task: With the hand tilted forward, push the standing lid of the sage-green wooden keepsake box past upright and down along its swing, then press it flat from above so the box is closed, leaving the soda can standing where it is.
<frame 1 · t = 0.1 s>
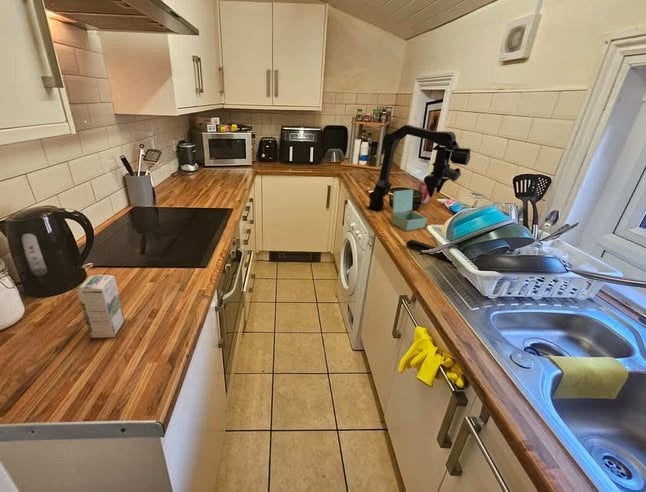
hand: (434, 194, 139), 15 cm above the table, tool pointing down, fingers open, 9 cm apart
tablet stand: (428, 253, 117), on the table
soda can: (422, 202, 174), on the table
syrup box: (109, 330, 76), on the table
keepsake box: (407, 225, 143), on the table
lid: (402, 201, 143), point 10 cm above the table, hinge at 100.0°
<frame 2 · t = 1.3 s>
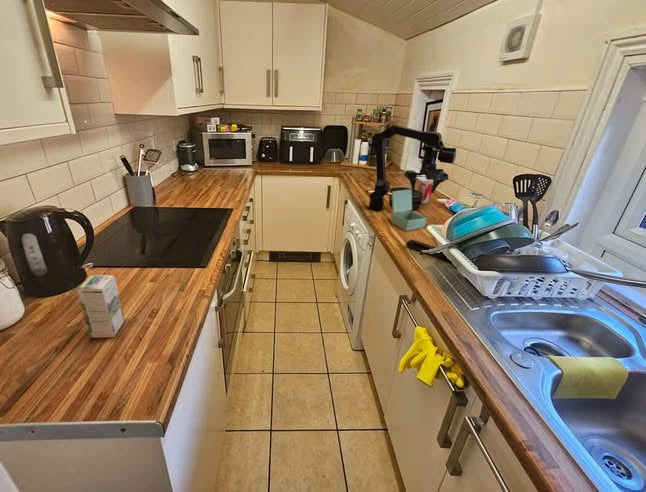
hand: (422, 192, 145), 14 cm above the table, tool pointing down, fingers open, 9 cm apart
lid: (402, 201, 144), point 10 cm above the table, hinge at 105.2°
everything else where it was.
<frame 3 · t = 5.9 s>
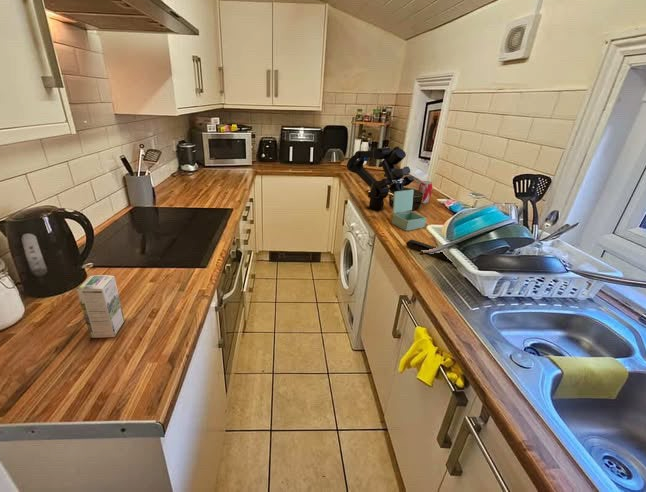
hand: (402, 197, 143), 12 cm above the table, tool tilted 45°, fingers closed
lid: (403, 201, 143), point 10 cm above the table, hinge at 97.3°
everything else where it was.
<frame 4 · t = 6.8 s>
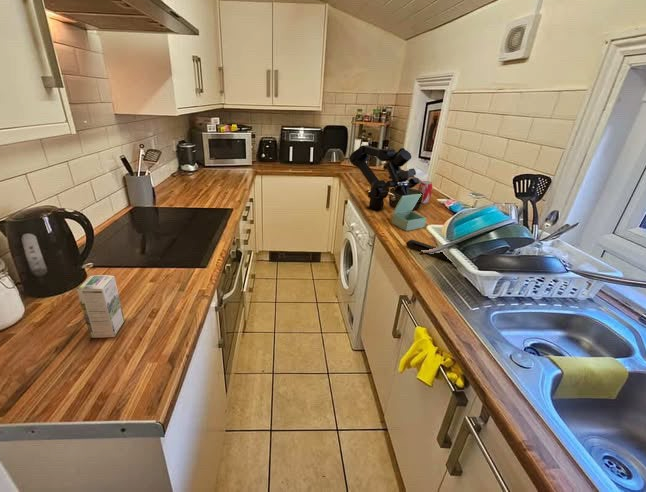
hand: (407, 200, 140), 12 cm above the table, tool tilted 45°, fingers closed, pressing on lid
lid: (407, 203, 141), point 10 cm above the table, hinge at 67.8°, touching gripper
everything else where it was.
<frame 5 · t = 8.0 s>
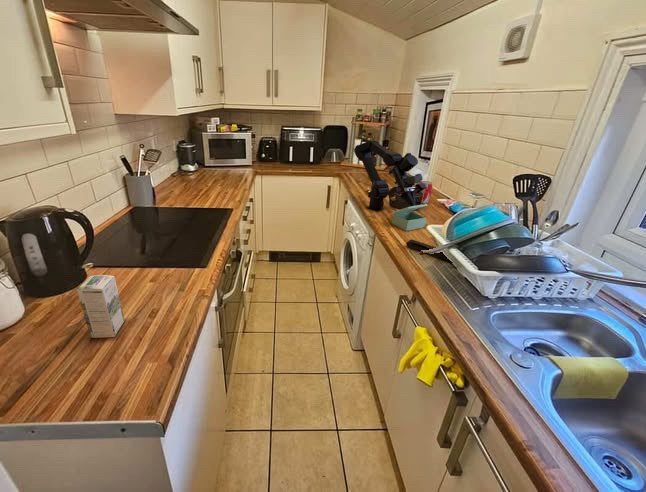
hand: (414, 206, 137), 10 cm above the table, tool tilted 45°, fingers closed
lid: (410, 208, 140), point 8 cm above the table, hinge at 33.7°
everything else where it was.
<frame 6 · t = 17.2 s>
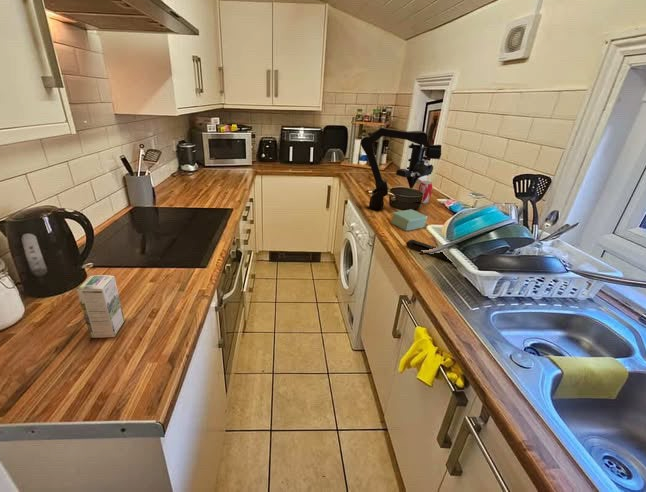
hand: (411, 188, 154), 13 cm above the table, tool pointing down, fingers closed
lid: (410, 215, 140), point 5 cm above the table, hinge at -0.3°, touching keepsake box
everything else where it was.
at the end: lid at +0° (first picture: +100°); soda can moved 0.2 cm from its start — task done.
